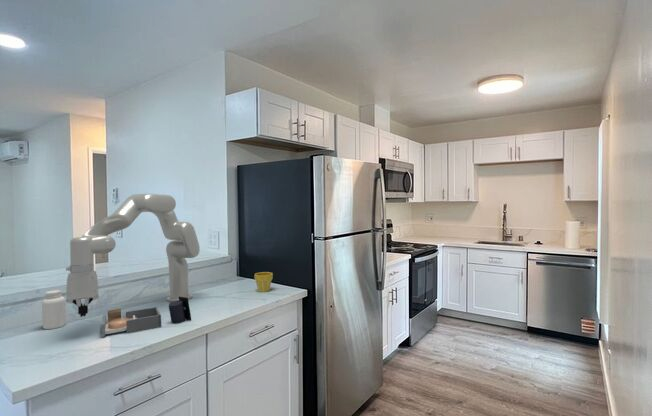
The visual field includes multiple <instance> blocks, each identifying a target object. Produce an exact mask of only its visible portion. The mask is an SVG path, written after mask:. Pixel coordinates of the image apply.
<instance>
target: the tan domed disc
mask: <svg viewBox="0 0 652 416" xmlns="http://www.w3.org/2000/svg"><path fill="white" fill-rule="evenodd" d="M126 320H130V319H129V318H126V317H121V318H119V319H114V320H111V321H109V322H108V321H107V322H108V328H109V329H119V328H123V327H126V326H127V325H126Z"/></svg>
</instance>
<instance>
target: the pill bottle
mask: <svg viewBox="0 0 652 416" xmlns="http://www.w3.org/2000/svg"><path fill="white" fill-rule="evenodd" d="M44 295H45V296H44V297H45V298H44V299H43V300H42V302H41V313H42V315H41V316H42V328H43V329H44V330H55V329H59V328H62V327H64V326H66V324H67V309H66V308H67V307H66V306H67V304H66V303H67V302H66V298H65V297H64V296H62V290H60V289H55V290H53V289H52V290H50V291H49V290H48V291H46V292H45V294H44Z"/></svg>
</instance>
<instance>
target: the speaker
mask: <svg viewBox="0 0 652 416" xmlns="http://www.w3.org/2000/svg"><path fill="white" fill-rule="evenodd" d="M189 303H190V302H189V299H188V298H187V297H179V300H178V301H170V302H169V303H168V310H169V316H170V321H171V322H170V323H172V324H181V323H182V322H185V320H187V321H192V314H191V309H190V304H189Z"/></svg>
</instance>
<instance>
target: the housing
mask: <svg viewBox="0 0 652 416" xmlns="http://www.w3.org/2000/svg"><path fill="white" fill-rule="evenodd" d="M133 315H135V318H136V317H137V319H132V320H126V325H127V330H126V334H132V333H137V332H144V331H149V330H154V329H159V328H162V314H161V312H160V310H159V308H158V306H155V307H147V308H141V309H134V310H129V311H127V310H126V311H125V318H129V319H130V318H133Z"/></svg>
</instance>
